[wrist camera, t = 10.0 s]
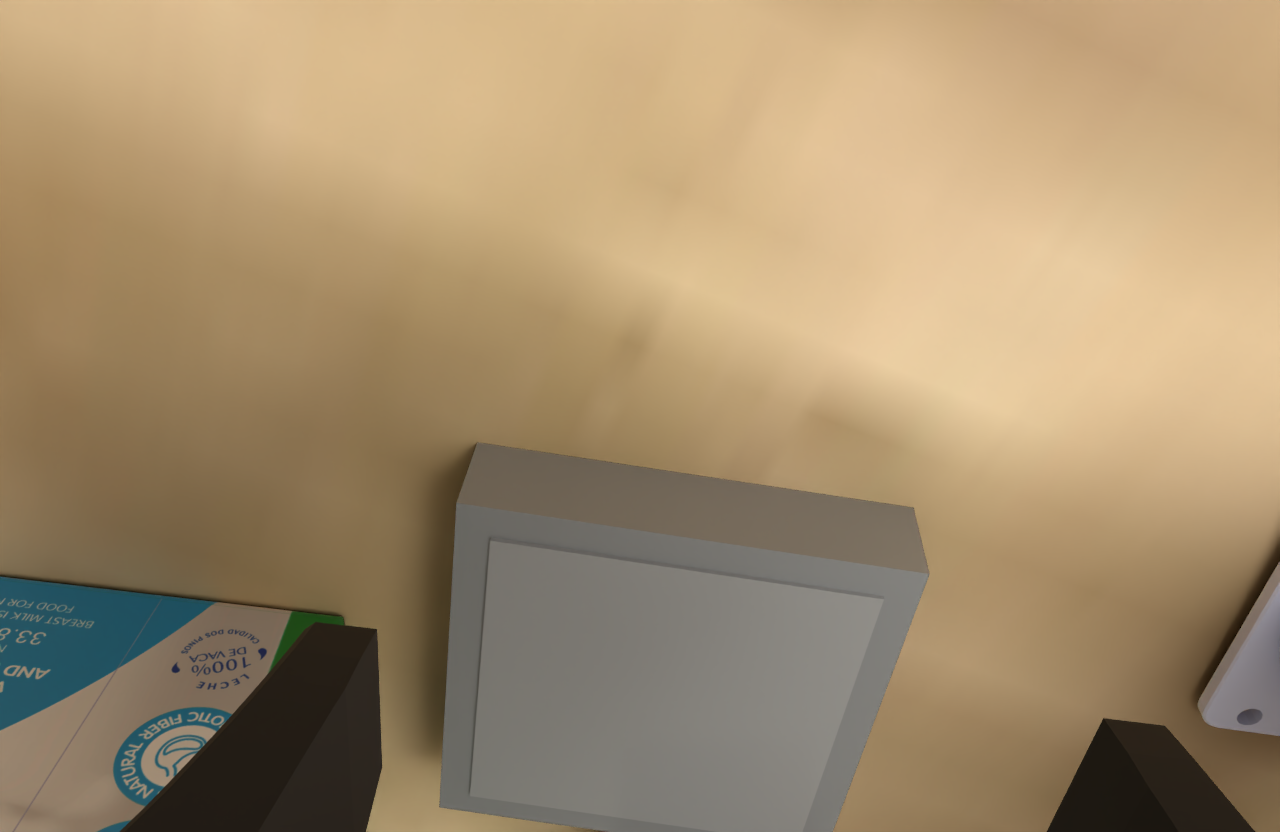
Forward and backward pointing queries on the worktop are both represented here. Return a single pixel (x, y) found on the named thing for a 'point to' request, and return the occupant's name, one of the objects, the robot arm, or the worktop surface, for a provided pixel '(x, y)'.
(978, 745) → the worktop surface
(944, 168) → the worktop surface
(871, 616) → the coaster block
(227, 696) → the milk carton
